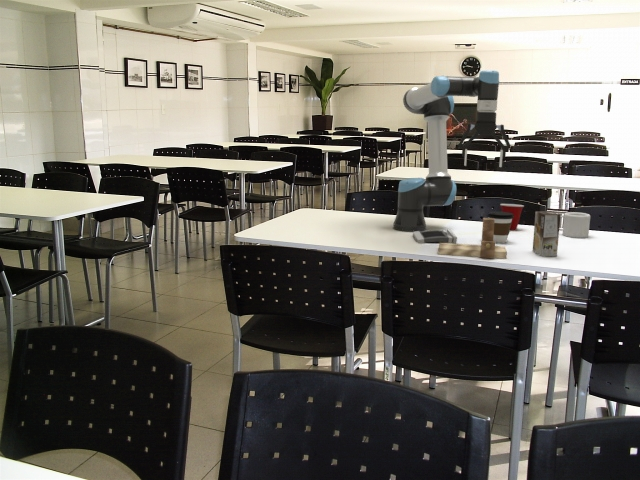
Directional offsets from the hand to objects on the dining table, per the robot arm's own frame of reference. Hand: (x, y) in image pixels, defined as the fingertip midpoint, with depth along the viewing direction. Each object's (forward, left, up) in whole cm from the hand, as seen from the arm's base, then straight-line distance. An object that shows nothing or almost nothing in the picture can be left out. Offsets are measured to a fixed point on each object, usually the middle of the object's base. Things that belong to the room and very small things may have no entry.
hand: (482, 166), depth 244 cm
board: (-2, -16, -32) cm, 36 cm away
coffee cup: (+9, +12, -33) cm, 36 cm away
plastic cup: (+16, +43, -33) cm, 56 cm away
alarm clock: (-18, +8, -33) cm, 39 cm away
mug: (+42, +35, -33) cm, 64 cm away
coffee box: (+25, -8, -33) cm, 42 cm away
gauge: (+3, -17, -32) cm, 36 cm away
